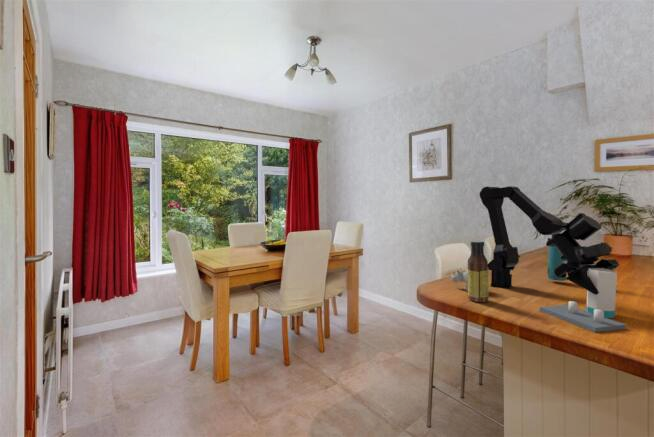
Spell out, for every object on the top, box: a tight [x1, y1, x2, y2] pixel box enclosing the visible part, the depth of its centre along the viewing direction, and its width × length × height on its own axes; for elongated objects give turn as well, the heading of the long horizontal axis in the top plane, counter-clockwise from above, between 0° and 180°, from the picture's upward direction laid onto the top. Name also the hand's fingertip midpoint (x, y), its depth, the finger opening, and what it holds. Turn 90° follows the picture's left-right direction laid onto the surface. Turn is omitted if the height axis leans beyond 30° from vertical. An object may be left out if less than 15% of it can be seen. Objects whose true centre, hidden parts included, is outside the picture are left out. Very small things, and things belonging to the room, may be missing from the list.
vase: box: [585, 268, 618, 319], centre depth 92 cm, size 6×6×13 cm
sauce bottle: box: [467, 240, 489, 303], centre depth 105 cm, size 7×6×20 cm
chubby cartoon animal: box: [450, 268, 468, 292], centre depth 118 cm, size 7×12×8 cm, turn 48°
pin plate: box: [539, 300, 627, 333], centre depth 88 cm, size 16×10×4 cm, turn 12°
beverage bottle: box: [547, 234, 568, 282], centre depth 128 cm, size 6×7×20 cm
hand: (606, 293), depth 91 cm, fingers closed on vase, 6 cm apart
